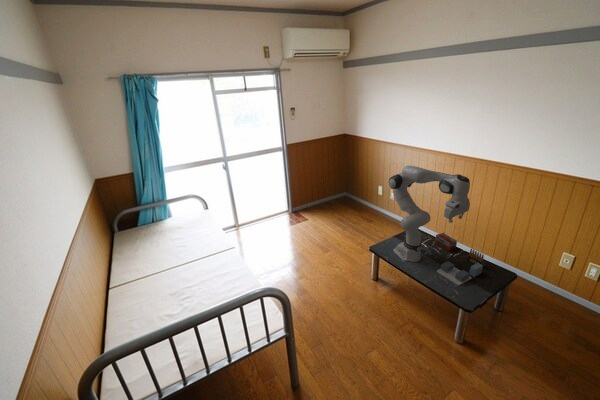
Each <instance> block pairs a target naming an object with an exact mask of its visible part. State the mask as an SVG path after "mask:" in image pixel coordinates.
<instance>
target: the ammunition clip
mask: <svg viewBox="0 0 600 400" xmlns="http://www.w3.org/2000/svg"><path fill="white" fill-rule="evenodd" d="M484 257H485V256H484V253H482V252H479V251H478V252H477V250H475V249H473V248H472V247H471V248H470V250H469V254H468V256H467V259H466V261H467V262H469V263H470V264H472V265H474V264H476V263H479V264H481V265H483V263H484ZM483 266H484V265H483Z"/></svg>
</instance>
